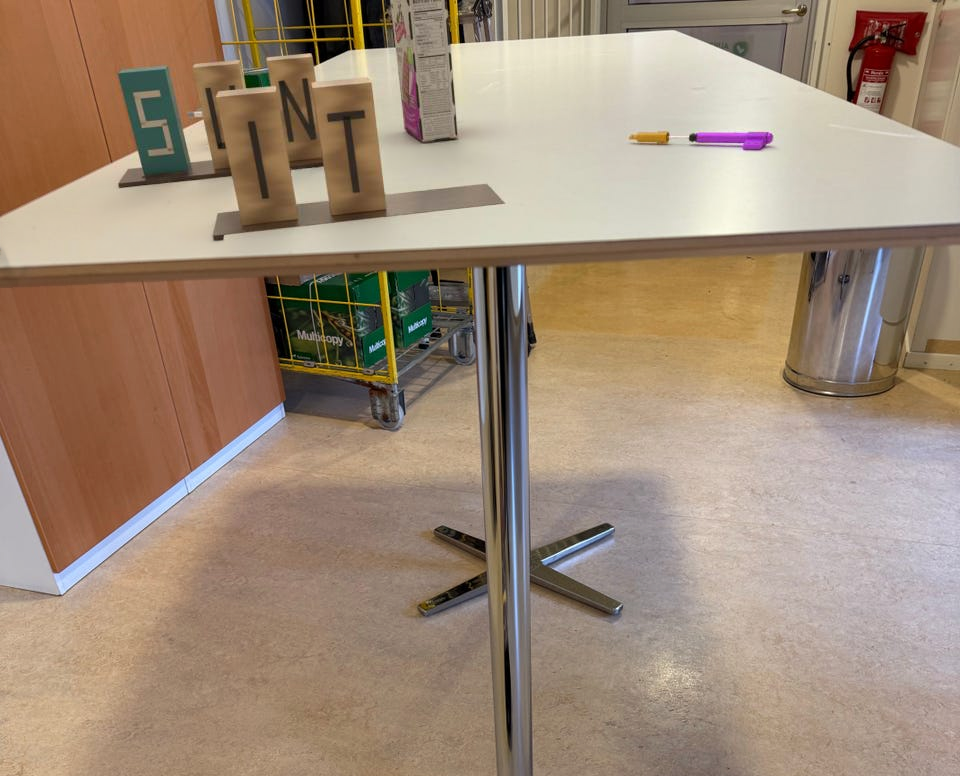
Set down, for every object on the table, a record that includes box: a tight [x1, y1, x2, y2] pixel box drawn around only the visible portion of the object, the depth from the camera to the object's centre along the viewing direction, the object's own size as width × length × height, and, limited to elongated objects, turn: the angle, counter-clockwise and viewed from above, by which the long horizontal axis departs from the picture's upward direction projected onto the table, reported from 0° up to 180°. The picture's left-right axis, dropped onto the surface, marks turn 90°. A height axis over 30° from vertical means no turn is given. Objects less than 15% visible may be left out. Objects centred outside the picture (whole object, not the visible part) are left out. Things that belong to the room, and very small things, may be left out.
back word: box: [117, 53, 323, 188], centre depth 104 cm, size 26×9×10 cm, turn 100°
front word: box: [212, 76, 506, 241], centre depth 82 cm, size 26×9×10 cm, turn 100°
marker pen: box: [628, 130, 774, 151], centre depth 99 cm, size 3×1×16 cm
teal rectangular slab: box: [117, 65, 191, 175], centre depth 103 cm, size 5×4×10 cm
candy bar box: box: [389, 0, 459, 143], centre depth 112 cm, size 11×5×16 cm, turn 15°
